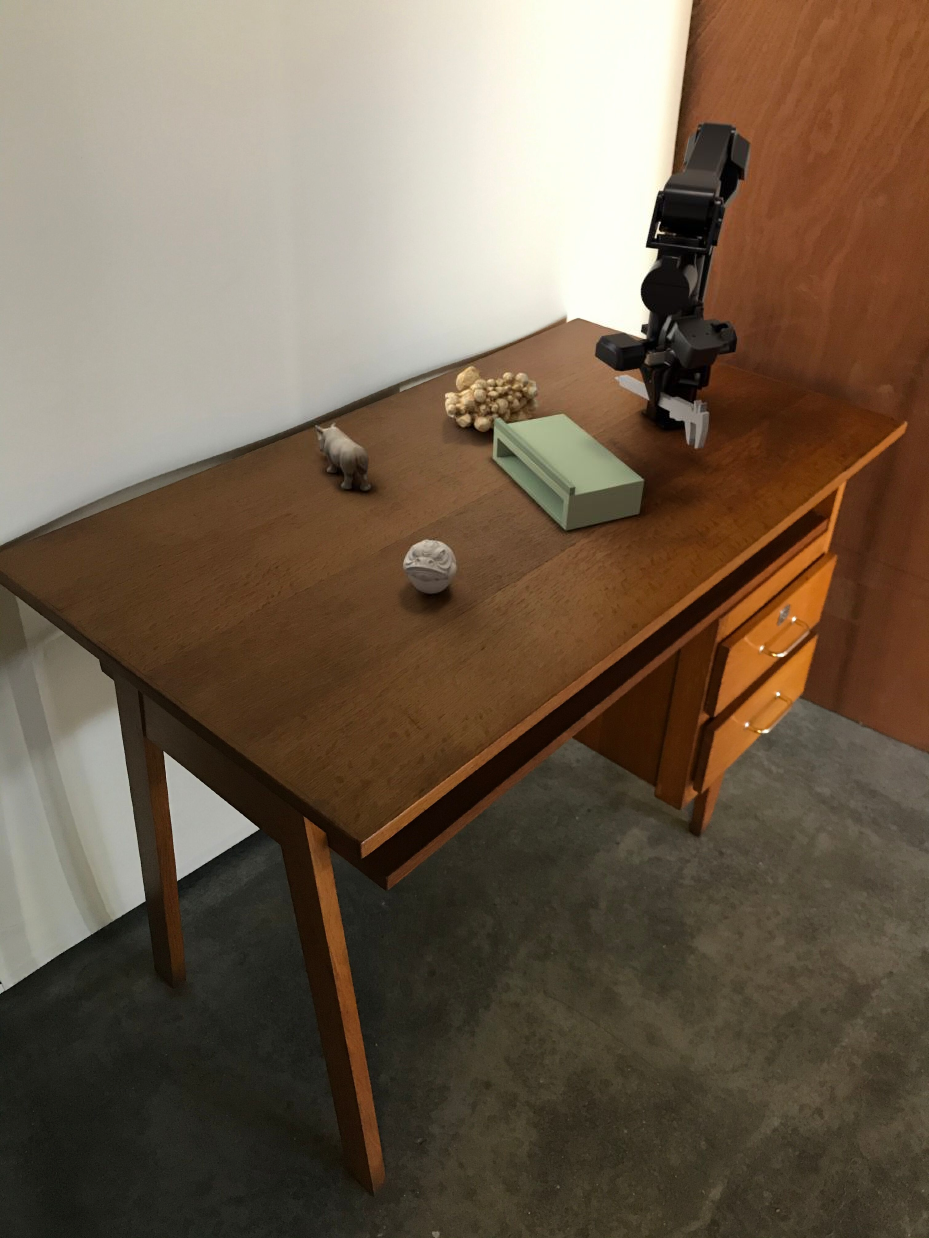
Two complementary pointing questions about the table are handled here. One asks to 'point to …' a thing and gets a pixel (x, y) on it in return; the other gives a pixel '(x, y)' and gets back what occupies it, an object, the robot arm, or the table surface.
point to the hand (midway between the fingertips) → (658, 405)
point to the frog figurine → (430, 566)
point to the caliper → (676, 410)
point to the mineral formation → (491, 399)
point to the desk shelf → (567, 471)
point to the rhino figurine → (343, 455)
